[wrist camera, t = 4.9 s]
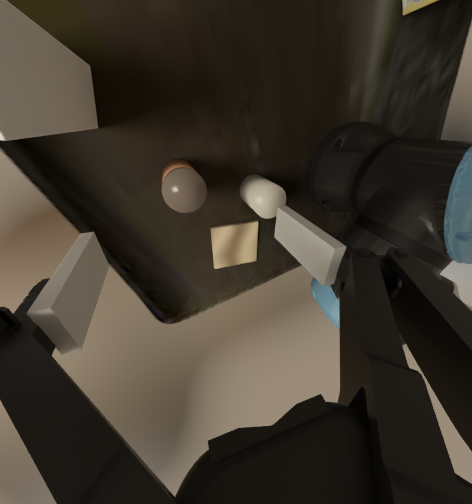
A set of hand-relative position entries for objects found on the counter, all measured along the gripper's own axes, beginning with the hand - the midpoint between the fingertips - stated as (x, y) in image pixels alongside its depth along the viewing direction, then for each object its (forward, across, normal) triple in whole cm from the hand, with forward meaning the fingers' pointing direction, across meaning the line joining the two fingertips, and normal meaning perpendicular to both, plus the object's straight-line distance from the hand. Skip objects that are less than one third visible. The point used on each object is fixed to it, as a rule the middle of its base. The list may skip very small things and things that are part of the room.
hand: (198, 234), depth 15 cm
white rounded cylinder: (+19, -12, +3) cm, 23 cm away
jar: (+19, 0, 0) cm, 19 cm away
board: (+19, -9, +14) cm, 25 cm away
